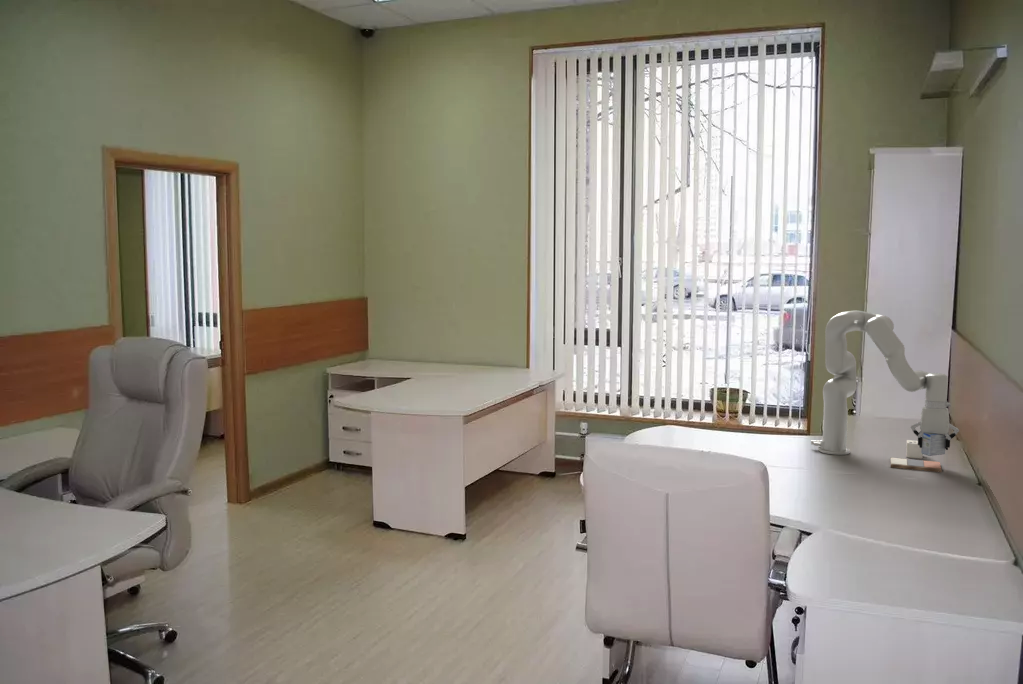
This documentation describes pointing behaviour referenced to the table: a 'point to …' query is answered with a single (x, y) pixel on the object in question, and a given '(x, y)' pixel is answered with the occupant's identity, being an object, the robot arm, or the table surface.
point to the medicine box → (933, 444)
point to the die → (913, 449)
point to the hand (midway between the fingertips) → (933, 448)
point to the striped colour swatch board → (915, 464)
